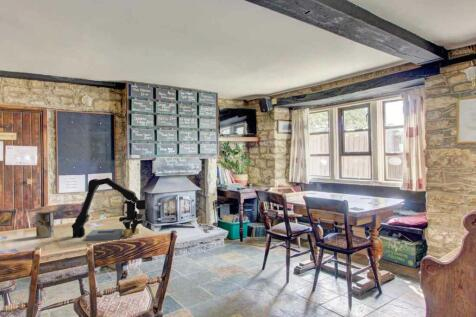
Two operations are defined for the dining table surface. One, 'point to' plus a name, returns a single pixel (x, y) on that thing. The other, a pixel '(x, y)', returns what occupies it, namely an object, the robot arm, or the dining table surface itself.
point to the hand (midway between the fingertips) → (131, 232)
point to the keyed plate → (104, 234)
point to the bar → (130, 232)
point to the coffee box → (44, 224)
